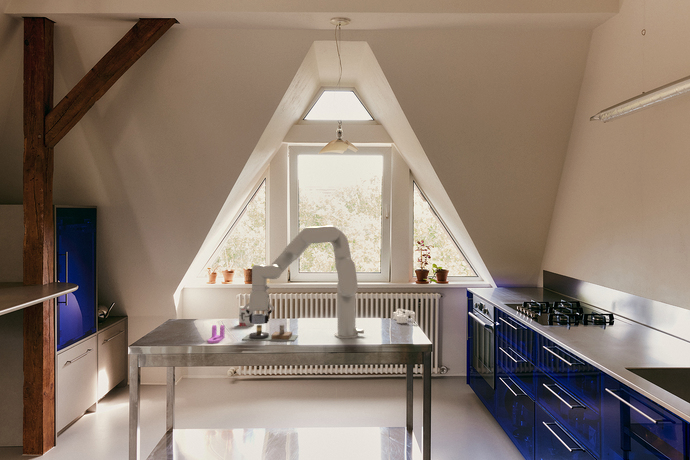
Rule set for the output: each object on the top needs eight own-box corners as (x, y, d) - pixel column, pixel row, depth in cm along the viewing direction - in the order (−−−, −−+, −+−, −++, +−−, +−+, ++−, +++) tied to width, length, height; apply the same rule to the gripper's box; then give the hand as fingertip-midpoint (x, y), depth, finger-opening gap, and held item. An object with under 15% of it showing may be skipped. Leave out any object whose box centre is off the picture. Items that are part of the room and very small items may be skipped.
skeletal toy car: (392, 320, 296) (392, 308, 296) (409, 320, 297) (409, 308, 297) (398, 326, 276) (398, 314, 276) (416, 326, 277) (416, 313, 277)
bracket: (213, 337, 245) (213, 324, 245) (224, 337, 245) (224, 324, 245) (206, 343, 232) (206, 329, 232) (218, 343, 232) (218, 329, 232)
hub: (270, 335, 248) (270, 323, 248) (266, 339, 238) (266, 327, 238) (252, 334, 249) (252, 323, 249) (247, 338, 239) (247, 327, 239)
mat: (298, 336, 248) (298, 335, 248) (294, 341, 237) (294, 339, 237) (247, 335, 250) (247, 334, 250) (241, 340, 239) (241, 339, 239)
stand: (292, 335, 247) (292, 323, 247) (288, 339, 238) (288, 327, 238) (275, 335, 248) (275, 323, 248) (271, 339, 239) (271, 326, 239)
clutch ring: (267, 321, 247) (267, 314, 247) (264, 324, 240) (264, 316, 240) (253, 321, 247) (254, 313, 248) (250, 323, 240) (250, 316, 240)
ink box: (239, 327, 271) (239, 307, 271) (239, 326, 276) (239, 306, 276) (254, 327, 273) (254, 306, 273) (253, 325, 278) (254, 305, 278)
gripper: (277, 288, 247) (277, 321, 247) (244, 287, 248) (244, 321, 248) (274, 289, 240) (273, 324, 239) (240, 289, 241) (240, 323, 240)
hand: (258, 322), depth 244 cm, fingers closed on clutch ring, 7 cm apart
